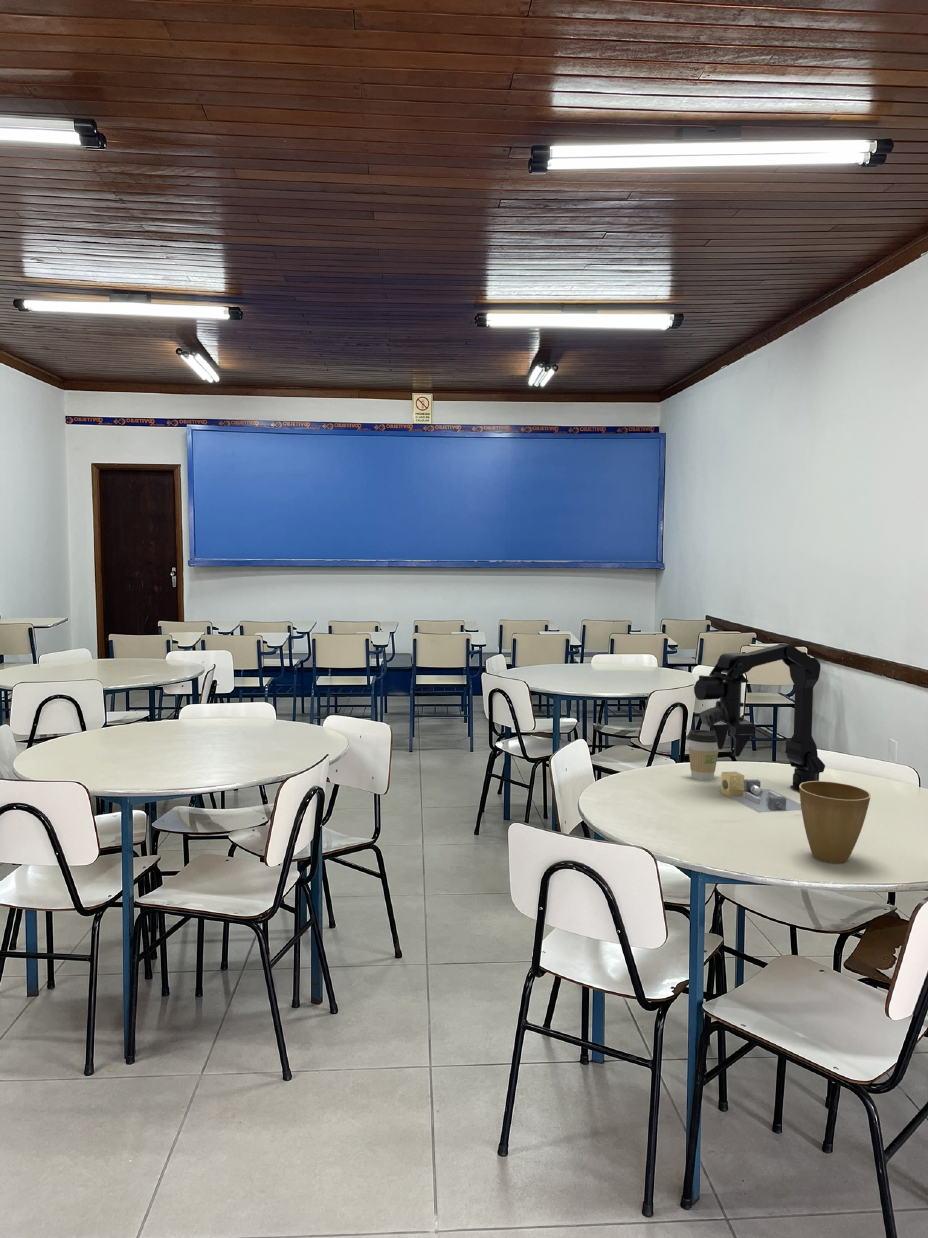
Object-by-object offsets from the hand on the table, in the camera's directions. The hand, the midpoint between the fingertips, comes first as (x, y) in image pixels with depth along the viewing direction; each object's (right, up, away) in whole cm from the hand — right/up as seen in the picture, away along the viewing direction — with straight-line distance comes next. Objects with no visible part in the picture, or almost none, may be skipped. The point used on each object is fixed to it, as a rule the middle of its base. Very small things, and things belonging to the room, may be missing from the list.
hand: (728, 752), depth 241 cm
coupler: (+1, -12, -1) cm, 12 cm away
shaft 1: (+8, -12, +1) cm, 14 cm away
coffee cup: (-3, -12, +17) cm, 21 cm away
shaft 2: (+8, -13, -13) cm, 20 cm away
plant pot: (+9, -17, -48) cm, 51 cm away
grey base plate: (+8, -13, -6) cm, 17 cm away
